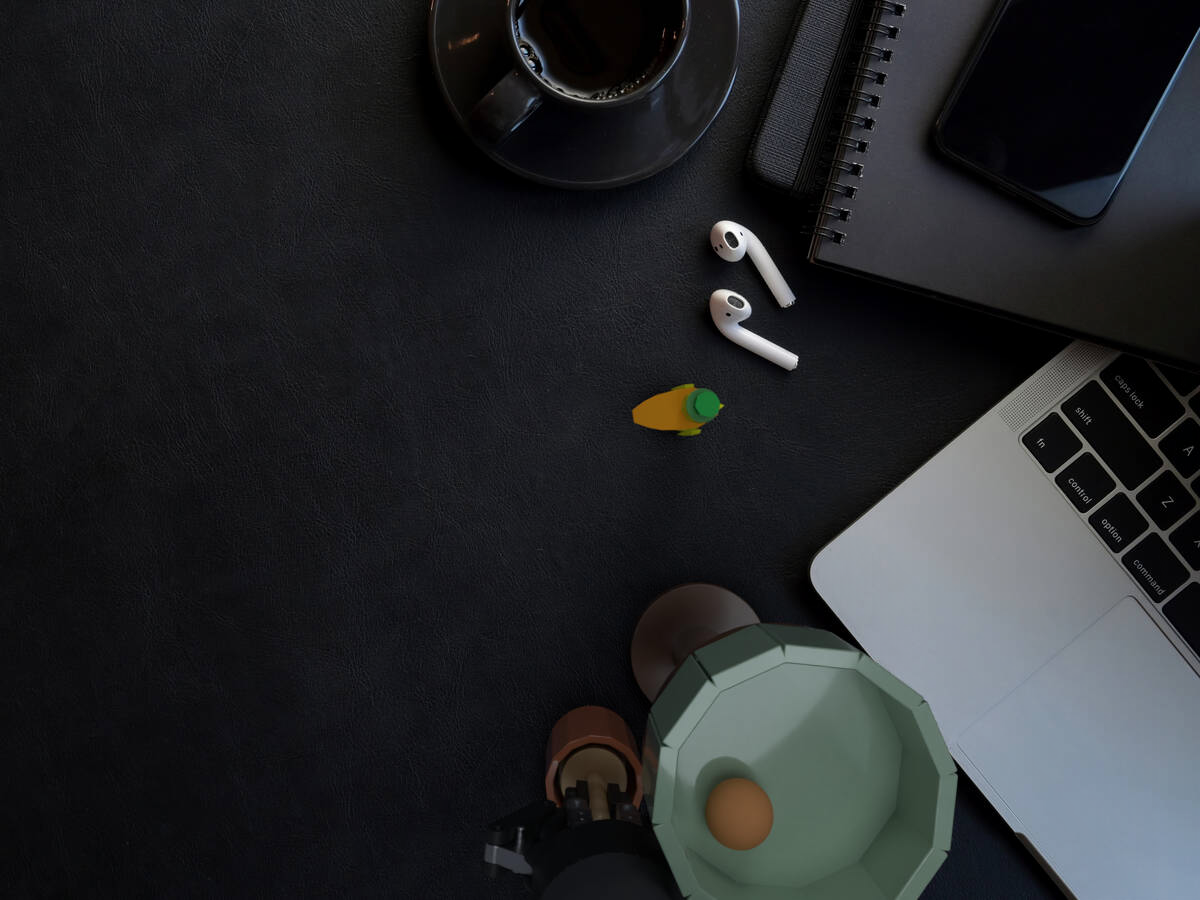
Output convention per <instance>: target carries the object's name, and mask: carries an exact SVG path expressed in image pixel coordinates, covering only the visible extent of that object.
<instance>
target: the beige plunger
mask: <svg viewBox="0 0 1200 900" xmlns="http://www.w3.org/2000/svg"><path fill="white" fill-rule="evenodd" d="M559 775H560V784H561V791H562V794H563V796H564V794H565V789H566V788H567V787H576V780H584V781H588V789H589V798H590V803H589V808H591V812H592V817H593V821H595V820H602V819H611V818H610V813H609V806H608V800H607V793H606V792H607V784H608V783H616V784H619V786H620V791H621V792H626V788H627V773H626V769H625V758H624V754H623V753H622V752H620V751H619V750H617V749H616V748H614V747H612V746H611V745H609V744H599V743H588V744H585V745H583V746H580V747H577V748H575V749H572V750H571V751H570V752H569V753H568V754H567V755H566V756H565V757H564V758H563V759H562V760H561V761H560V762H559Z"/></svg>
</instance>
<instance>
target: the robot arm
mask: <svg viewBox="0 0 1200 900" xmlns="http://www.w3.org/2000/svg"><path fill="white" fill-rule="evenodd" d="M606 793H607V800H608V806H609V813H610V818H611V819H602V820H595V821H593V817H592V812H591V808H589V803H590V798H589V789H588V781H584V780H576V787H567V788H566V789H565V794H564V803H563V806H562V807H556V806H557V804H556V802H554V801H552V800H549V799H547V798H541V799H537V800H535V801H534V802H531V803H529V804H527V805H525V806H522V807H520V808H519V809H517V810H515V811H513V812H511V813H509V814H507V815H505V816H503V817H500V818H499V819H496V820H495V821H492V822H490V823H488V824H487V825H486V829H485V837H484V838H485V839H484V847H483V857H482V864H481V865H482V866H481V874H482V875H483V877H486V878H489V879H500V878H503V877H504V876H506V875H507V874H509V873H511V872H512V873H514V874H522V875H521V881H522V884H523V887H524V888H525V889H526V891H528V892H529V894H530V900H686V897H683V896H682V894H681V892H680V889H679V887H678V885H677V882H676V880H675V878H674V876H673V873H672V871H671V869H670V867H669V864H668V862H667V860H666V857H665V855H664V853H663V851H662V848H661V846H660V844H659V842H658V839H657V837H656V835H655V832H654V830H653V827H652V823H651V819H650V815H649V812H648V811H647V814H646V815H644V814H641V813H640V812H638V811H637V807H636V806H635V805H633V804H632V801H631V796H630V795H629V794H628V793H627V792H621V791H620V786H619V784H616V783H608V784H607V792H606Z"/></svg>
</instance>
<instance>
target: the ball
mask: <svg viewBox="0 0 1200 900" xmlns="http://www.w3.org/2000/svg"><path fill="white" fill-rule="evenodd" d="M705 818H706V823H707V826H708V828H709V830H710V832H711V834H712V835H713V837H714V838H715V839H716V840H717V841H718V842H719V843H721V844H722V845H723V846H725V847H727V848H730V849H733V850H738V851H743V850H749V849H752V848H755V847H757V846H758V845H760V844H761V843H762V842H763V841H764V840H765V839H766V838H767V837H768V835H769V833H770V831H771V829H772V825H773V819H774V814H773V807H772V804H771V801H770V799H769V797H768V795H767V794H766V792H765V791H764V790H763V789H762V788H761V787H760V786H759V785H758V784H756V783H754V782H753V781H750V780H748V779H744V778H731V779H727V780H725V781H723V782H721V783H719V784H718V785H717V786H716V787H715V788H714V789H713V790H712V791H711V793H710V795H709V797H708V799H707V802H706V807H705Z"/></svg>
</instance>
